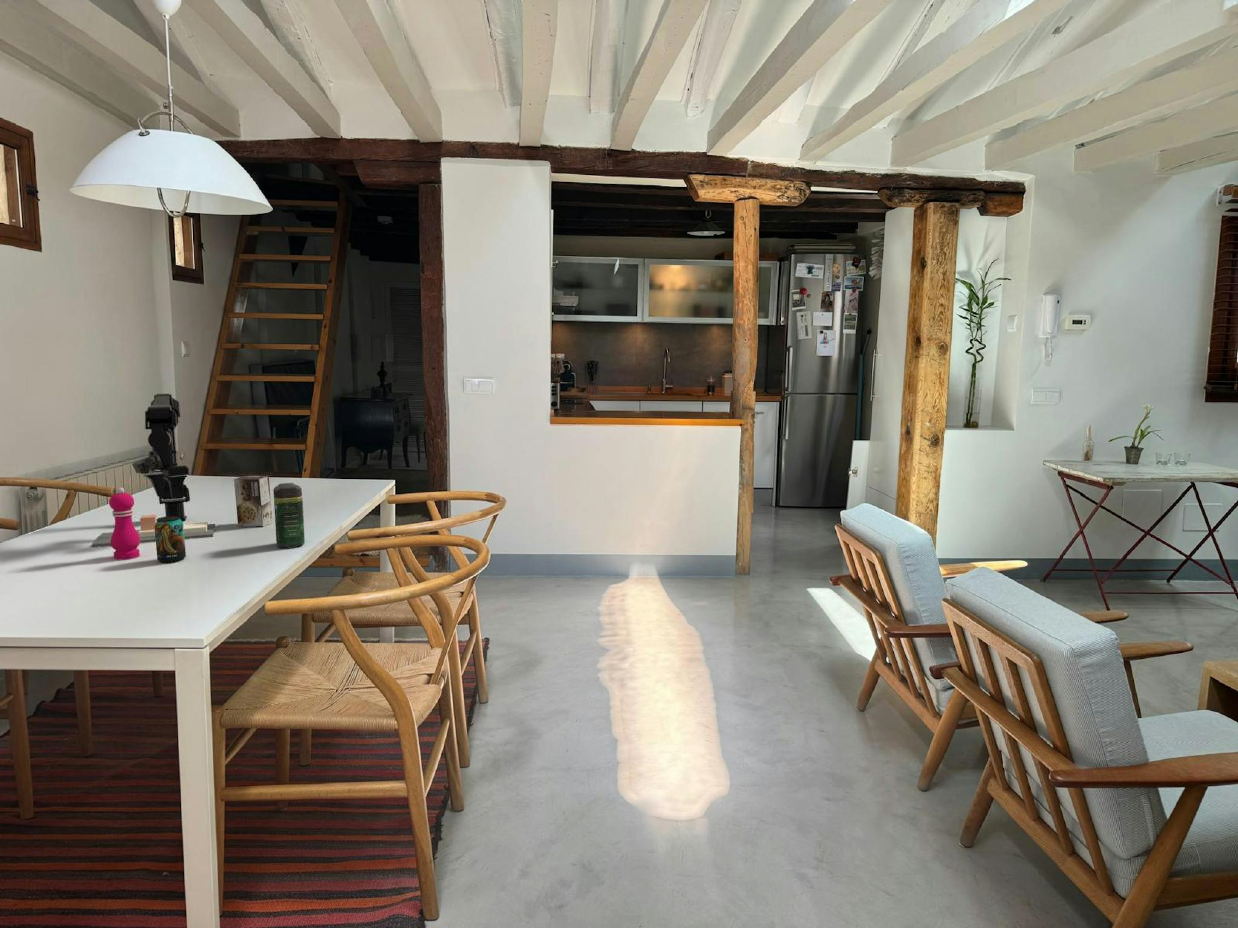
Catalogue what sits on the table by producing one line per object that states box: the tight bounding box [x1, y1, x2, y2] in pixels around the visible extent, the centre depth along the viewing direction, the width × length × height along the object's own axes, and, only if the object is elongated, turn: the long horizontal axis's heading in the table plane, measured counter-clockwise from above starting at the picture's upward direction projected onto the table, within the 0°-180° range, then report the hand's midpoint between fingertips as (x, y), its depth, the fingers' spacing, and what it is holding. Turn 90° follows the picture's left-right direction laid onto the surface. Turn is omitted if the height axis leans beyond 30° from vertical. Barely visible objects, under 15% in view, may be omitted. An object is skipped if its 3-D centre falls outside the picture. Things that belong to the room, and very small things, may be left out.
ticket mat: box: [92, 521, 216, 548], centre depth 252 cm, size 16×32×2 cm, turn 114°
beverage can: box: [154, 516, 187, 564], centre depth 224 cm, size 7×7×12 cm
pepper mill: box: [108, 487, 141, 561], centre depth 226 cm, size 7×7×20 cm
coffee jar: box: [272, 482, 306, 549], centre depth 240 cm, size 10×8×19 cm
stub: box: [138, 514, 158, 537], centre depth 251 cm, size 8×6×6 cm
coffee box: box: [233, 475, 273, 527], centre depth 267 cm, size 9×6×16 cm
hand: (166, 497), depth 250 cm, fingers open, 9 cm apart
